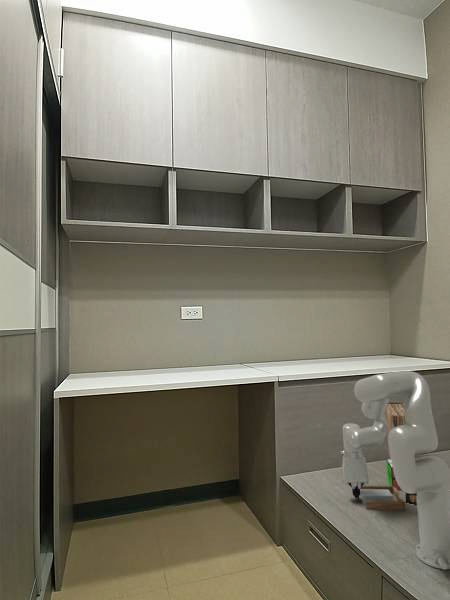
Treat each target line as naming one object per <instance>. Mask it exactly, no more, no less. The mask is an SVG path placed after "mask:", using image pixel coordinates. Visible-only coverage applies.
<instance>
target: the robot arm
mask: <svg viewBox="0 0 450 600" xmlns="http://www.w3.org/2000/svg"><path fill="white" fill-rule="evenodd" d="M430 391H431V390H430V387H429V385H428V382H427V381H426V379H425V377H423V376H422V375H421V374H419V373H418V372H415V371H409V370H404V371H403V370H402V371H394V372H387V373H386V372H385V373H380V374H379V373H378V374H374V375H372V376H368V377H365V378H362V379H359V380H357V382H356V383H355V385H354V387H353V393H354V396H355V398H356V399H357V400H358V402H361V403H362V405H361V407H360V408H361V412H362V414H363V415H364V416H365V417H367V418H368V419H369V420H372V421H374V422H373V423H372V424H373V425H372V426H367V427H362V428H361V426H360V425H359V424H356V423H351V422H349V423H345V424H343V425H342V440H343V450H340V455H343V456H342V465H341V469H342V470H341V472H342V479H341V480H342V483H343V484H345V485H348V486H350V488H351V489H352V490H351V491H352V496H353V497H354V499H358V500H359V499H360V489H361V487H362V486H365V485H367V484H369V483H370V482H369V473H368V472H369V471H368V464H367V461H366V458H365V456H364V455H363V449H367V448H370V447H377V446H380V445H382V444H383V443H384V441H385V439H387V432H388V423H387V420H386V417H385V410H386V407H387V405H388V403H390V402H389V401H390V399H392V398H393V399H394V398H400V397H406V400H405V401H404V415H405V421H406V424H405V425H402V426H397V427H394V428H393V429H392V430H391V431H390V433H389V437H388V444H389V450H390V455H391V460H392V466H393V471H394V475H395V479H396V481H397V484H398V485H399V487H400V488H401V489H402V490H401V491H403V492H406V493H409V494H414V493H417V506H416V510H417V512H416V513H417V522H418V523H417V524H418V534H419V535H418V536H419V543H418V544H417V545H416V547H415V548H414V549H415V554H416V557H417V558H418V559H419V560H420V561H421V562H423V563H424V564H426V565H428V566H429V567H433V568H436V569H440V570H443V571H446V570H450V467H449V465H448V464H447V462H446V461H445V460H443V459H442V458H440V457H439V456H434V455H425V456H421V457H417V458H415V455H416V456H418V455H422V454H428V453H431V452H433V451H436V450H437V448H438V446H439V439H438V434H437V429H436V424H435V420H434V415H433V412H432V403H431V392H430ZM388 444H387V445H388ZM355 484H356V485H355Z"/></svg>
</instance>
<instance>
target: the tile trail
mask: <svg viewBox="0 0 450 600" xmlns="http://www.w3.org/2000/svg"><path fill="white" fill-rule="evenodd" d="M359 499H360V500H361V501H362V504H363V505H366V501H378V495H377V494H376V492H375V490H374V489H360V496H359Z"/></svg>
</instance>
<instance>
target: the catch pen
mask: <svg viewBox="0 0 450 600" xmlns="http://www.w3.org/2000/svg"><path fill="white" fill-rule="evenodd" d="M361 489H388V490H389V491H390V493H391V494H392V495H393V497H395V499H396V500H395V501H394V500H393V501H366V504H365V509H366V510H373V511H375V510H376V511H377V510H381V511H383V510H384V511H406V509H407V508H406V501H405V500H404V499H403V497H402V495H401V494H400V492H399V490H397V489H396V488H395V486H391V485H363V486H362V487H361Z"/></svg>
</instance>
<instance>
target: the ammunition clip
mask: <svg viewBox="0 0 450 600" xmlns="http://www.w3.org/2000/svg"><path fill="white" fill-rule="evenodd" d="M406 503H409V504H408V505H410V504H414V505H413V506H416V505H417V493H414V494H409V493H406V492H405V504H406Z"/></svg>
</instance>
